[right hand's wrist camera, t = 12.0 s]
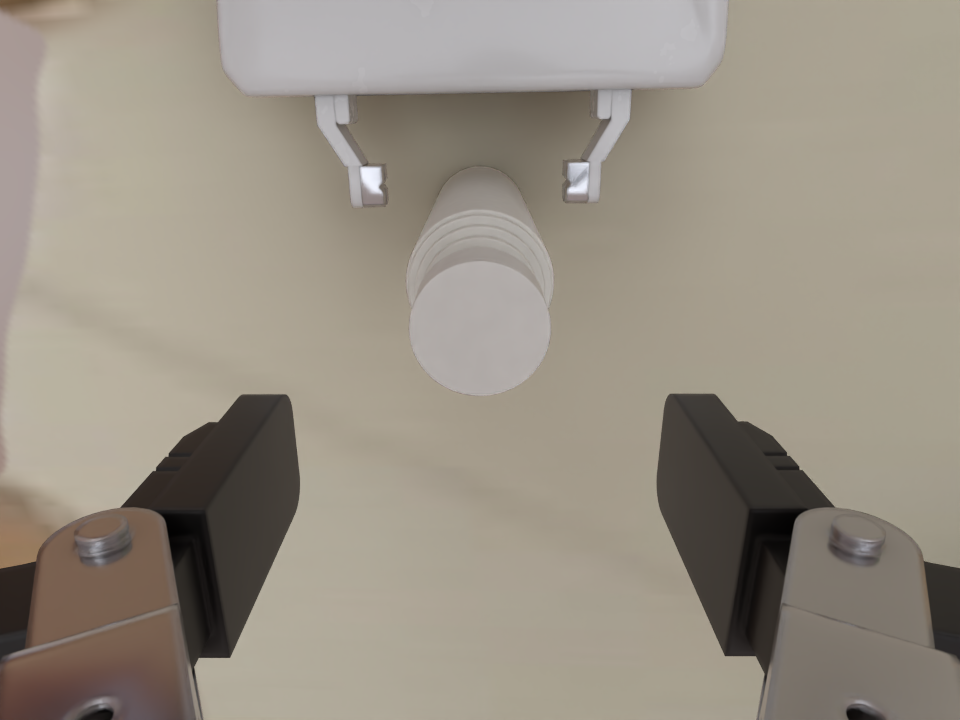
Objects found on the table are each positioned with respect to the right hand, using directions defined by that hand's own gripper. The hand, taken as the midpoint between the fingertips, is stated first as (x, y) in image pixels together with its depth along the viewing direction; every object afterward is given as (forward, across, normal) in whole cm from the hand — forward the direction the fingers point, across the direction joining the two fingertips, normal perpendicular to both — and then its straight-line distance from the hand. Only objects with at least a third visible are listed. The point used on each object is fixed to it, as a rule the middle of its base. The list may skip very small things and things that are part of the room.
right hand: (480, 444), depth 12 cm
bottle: (+27, 0, 0) cm, 27 cm away
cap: (+6, 0, 0) cm, 6 cm away
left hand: (+20, 0, +1) cm, 21 cm away
